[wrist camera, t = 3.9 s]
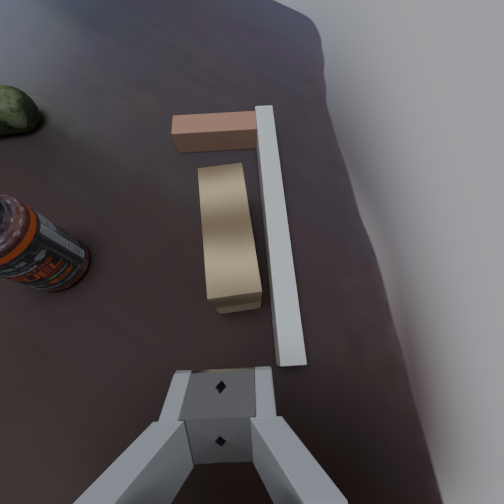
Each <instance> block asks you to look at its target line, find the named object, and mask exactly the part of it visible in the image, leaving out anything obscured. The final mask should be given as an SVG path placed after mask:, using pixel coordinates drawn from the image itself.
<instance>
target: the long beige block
mask: <svg viewBox="0 0 504 504" xmlns="http://www.w3.org/2000/svg"><path fill="white" fill-rule="evenodd" d="M198 179H199V192H200V206H201V219H202V232H203V246H204V259H205V273H206V286H207V299H208V300H209V302H210V303H211V304H212V305H213V306H214V307H215V309H216V310H217V311H218V312H219V313H220V314H223V313H230V312H237V311H243V310H250V309H257V308H261V298H262V288H261V281H260V275H259V269H258V262H257V256H256V250H255V244H254V237H253V231H252V225H251V219H250V212H249V206H248V200H247V193H246V187H245V181H244V175H243V168H242V163H237V164H229V165H221V166H212V167H204V168H198Z"/></svg>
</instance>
